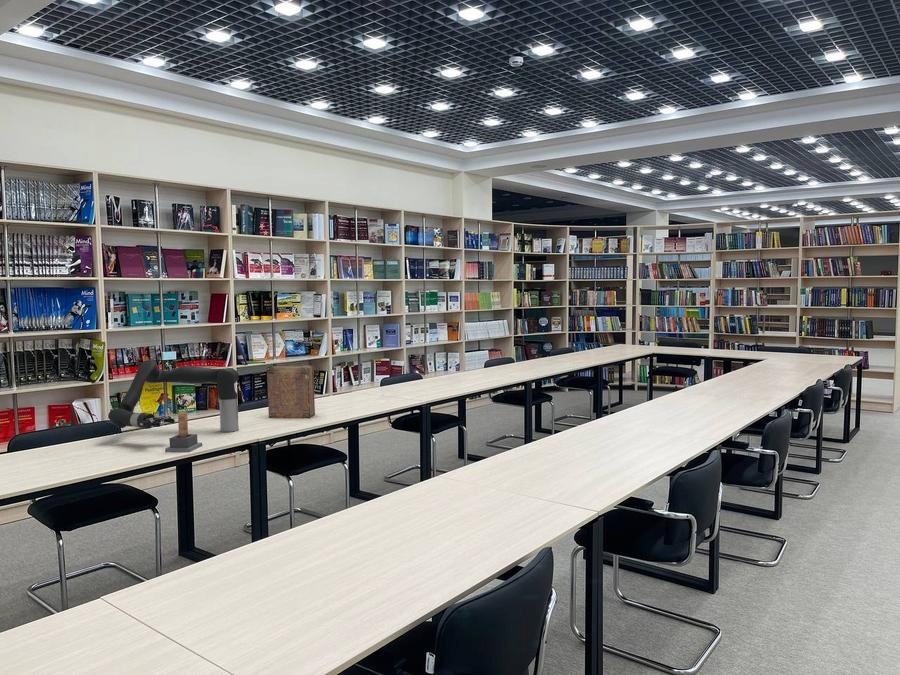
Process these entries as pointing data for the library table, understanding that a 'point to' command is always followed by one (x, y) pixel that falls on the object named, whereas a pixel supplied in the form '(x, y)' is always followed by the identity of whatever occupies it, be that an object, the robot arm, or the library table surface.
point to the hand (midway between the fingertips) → (166, 422)
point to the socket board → (183, 444)
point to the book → (290, 391)
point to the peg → (183, 424)
